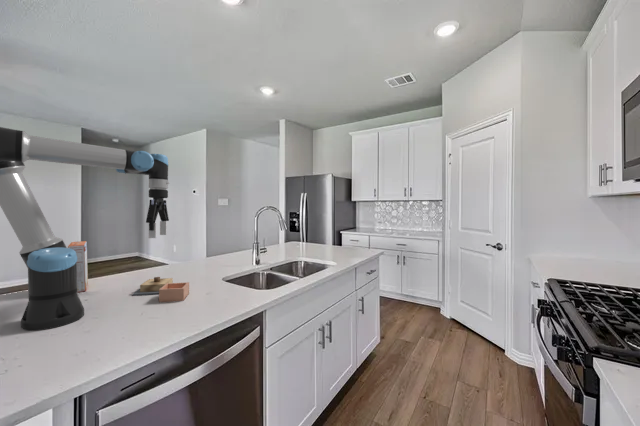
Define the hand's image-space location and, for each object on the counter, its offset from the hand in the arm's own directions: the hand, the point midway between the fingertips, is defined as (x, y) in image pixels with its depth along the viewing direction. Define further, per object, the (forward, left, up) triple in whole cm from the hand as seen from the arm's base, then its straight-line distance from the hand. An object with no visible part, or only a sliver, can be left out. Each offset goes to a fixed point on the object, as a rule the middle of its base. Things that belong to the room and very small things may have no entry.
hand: (158, 236), depth 126 cm
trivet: (-1, 0, -24) cm, 24 cm away
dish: (+10, -13, -24) cm, 29 cm away
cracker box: (-36, +8, -24) cm, 44 cm away
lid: (0, 0, -23) cm, 23 cm away
